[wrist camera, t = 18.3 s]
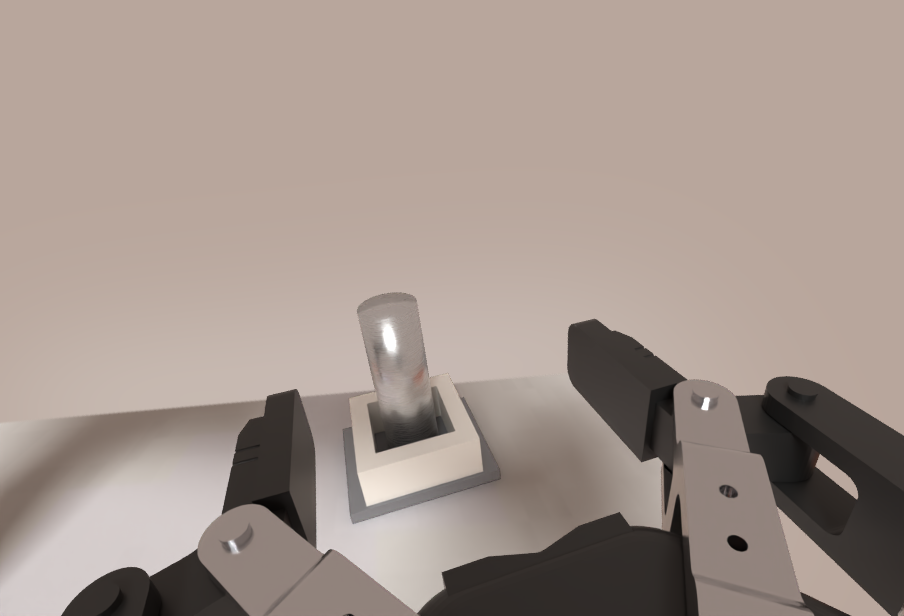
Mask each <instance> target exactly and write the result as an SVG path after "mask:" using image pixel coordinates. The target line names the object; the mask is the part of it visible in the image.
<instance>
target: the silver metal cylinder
mask: <svg viewBox="0 0 904 616" xmlns="http://www.w3.org/2000/svg"><path fill="white" fill-rule="evenodd" d="M357 314H358V318H359V322H360V327H361V331H362V335H363V340H364V344H365V348H366V353H367V357H368V361H369V366H370V370H371V374H372V379H373V383H374V387H375V392H376V396H377V400H378V404H379V409H380V413H381V417H382V422H383V426H384V430H385V435H386V439H387V443H388V448H389V450H390V449H393V448H397V447H400V446H404V445H407V444H411V443H415V442H418V441H422V440H425V439H429V438H432V437H436V436H439V435H438V428H437V422H436V416H435V410H434V404H433V398H432V391H431V385H430V379H429V373H428V367H427V361H426V355H425V349H424V343H423V336H422V330H421V324H420V318H419V312H418V306H417V300H416V298H415V297H414V296H412V295H410V294H406V293H387V294H382V295H378V296H375V297H372V298H370V299H368V300H366V301H364V302H363V303H362V304H361V305H360V306H359V307H358V309H357Z"/></svg>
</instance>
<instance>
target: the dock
mask: <svg viewBox="0 0 904 616" xmlns="http://www.w3.org/2000/svg"><path fill="white" fill-rule="evenodd" d="M429 379H430V385H431V391H432V398H433V404H434V410H435V416H436V422H437V428H438V435H439V436H436V437H432V438H429V439H425V440H422V441H418V442H415V443H411V444H407V445H404V446H400V447H397V448H393V449H390V450H389V448H388V443H387V439H386V435H385V430H384V426H383V422H382V417H381V413H380V409H379V404H378V400H377V396H376V392H371V393H367V394H363V395H359V396H356V397H352V398H349V404H350V412H351V421H352V427H350V428H346V429H343V438H344V450H345V462H346V474H347V485H348V497H349V509H350V517H351V520H352V523H353V524H354V523H357V522H361V521H364V520H367V519H370V518H374V517H377V516H380V515H383V514H387V513H390V512H393V511H396V510H400V509H403V508H406V507H409V506H413V505H416V504H419V503H422V502H426V501H429V500H432V499H435V498H439V497H442V496H445V495H448V494H452V493H455V492H458V491H461V490H465V489H468V488H471V487H474V486H478V485H481V484H484V483H487V482H491V481H494V480H497V479H500V469H499V467H498V465H497V463H496V461H495V459H494V457H493V455H492V453H491V451H490V449H489V447H488V445H487V443H486V441H485V439H484V437H483V435H482V433H481V431H480V429H479V427H478V425H477V423H476V421H475V419H474V417H473V415H472V413H471V411H470V409H469V407H468V405H467V403H466V401H465V399H464V397H462V398H460V397H459V395H458V393H457V391H456V389H455V387H454V385H453V382H452V380H451V378H450V376H449V374H448V373H446V374H442V375H439V376H435V377H430V378H429Z"/></svg>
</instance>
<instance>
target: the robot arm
mask: <svg viewBox="0 0 904 616" xmlns="http://www.w3.org/2000/svg"><path fill="white" fill-rule="evenodd" d="M567 366H568V367H567V368H568V374H569V378H570V380H571V382H572V384H573V386H574V387H575V388H576V389H577V391H578V392H579V393H580V394H581V395H582V396H583V397H584V398H585V400H586V401H587V402H588V403H589V404H590V405H591V406H592V407H593V408H594V410H595V411H596V412H597V413H598V414H599V415H600V416H601V417H602V419H603V420H604V421H605V422H606V423H607V424H608V425H609V426H610V427H611V429H612V430H613V431H614V432H615V433H616V434H617V435H618V436H619V438H620V439H621V440H622V441H623V442H624V443H625V444H626V445H627V446H628V448H629V449H630V450H631V451H632V452H633V453H634V454H635V455H636V457H637V458H638V459H639V460H640V461H641V462H644V461H647V460H650V459H653V458H656V457H659V459H660V460H661V461H662V467H661V501H662V530H661V529H658V528H652V527H645V526H629V524H628V523H627V522H626V520H625V519H624V518H623V516H622V515H621V513H620V512H619V513H616V514H613V515H610V516H607V517H604V518H601V519H598V520H595V521H592V522H589V523H586V524H583V525H580V526H578V527H577V528H575V529H574V530H572V531H571V532H569V533H568V534H566V535H565V536H564V537H562V538H561V539H559V540H558V541H556V542H555V543H554V544H552V545H551V546H549V547H548V548H546V549H545V550H543V551H541V552H538V553H529V554H516V555H503V556H490V557H486V558H483V559H480V560H477V561H474V562H471V563H468V564H465V565H462V566H459V567H456V568H453V569H450V570H447V571H444V572H442V577H443V582H444V588H445V589H444V590H442V591H441V592H440V593H438V594H437V595H435V596H434V597H433V598H432V599H431V600H430V601H428V602H427V603H426V604H425V605H424V606H423V607H422V609H421V610H420V611H419V612H418V613H415V612H414V611H413V610H412V609H410V608H409V607H408V606H407V605H405V604H404V603H403V602H401V601H400V600H399V599H398V598H396V597H395V596H394V595H393V594H391V593H390V592H389V591H388V590H386V589H385V588H384V587H382V586H381V585H380V584H379V583H377V582H376V581H375V580H374V579H372V578H371V577H370V576H369V575H367V574H366V573H365V572H363V571H362V570H361V569H360V568H358V567H357V566H356V565H355V564H353V563H352V562H351V561H349V560H348V559H347V558H346V557H344V556H343V555H342V554H340V553H339V552H337V551H335V550H332V549H330V550H328V551H327V552H326V553H325V554H323V553H321V552H320V551H318V550H317V549H316V472H315V448H314V442H313V437H312V433H311V430H310V427H309V423H308V420H307V417H306V414H305V411H304V408H303V404H302V401H301V398H300V395H299V392H298V391H297V389H294V390H290V391H286V392H282V393H278V394H273V395H269V396H267V400H266V407H265V413H264V416H263V417H259V418H255V419H251V420H249V421H248V423H247V424H246V426H245V427H244V428H243V430H242V431H241V432H240V434H239V435H238V440H237V444H236V449H235V452H236V453H235V454H234V459H233V463H232V464H233V467H232V468H231V473H230V477H229V482H228V487H227V492H226V496H225V501H224V506H223V510H222V515H221V516H220V517H218V518H217V519H216V520H215V521H213V522H212V523H211V525H210V526H209V527H208V528H207V529H206V530H205V532H204V533H203V535H202V537H201V539H200V541H199V544H198V549H196V550H195V551H194V552H192V553H191V554H189V555H188V556H186V557H184V558H183V559H181V560H179V561H177V562H176V563H174V564H172V565H170V566H168V567H167V568H165V569H163V570H161V571H159V572H158V573H156V574H154V575H152V576H150V577H149V576H148V574H147V573H146V572H145V571H144V570H142V569H140V568H137V567H127V568H122V569H118V570H115V571H113V572H110V573H108V574H106V575H104V576H102V577H100V578H99V579H97V580H96V581H94V582H93V583H91V584H90V585H89V586H87V587H86V588H85V589H84V590H82V591H81V592H80V593H79V594H78V595H77V596H76V597H75V598H74V599H73V600H72V601H71V603H70V604H69V605H68V606H67V608H66V609H65V611H64V612H63V614H62V615H61V616H850V615H848V614H846V613H844V612H842V611H840V610H838V609H836V608H833V607H831V606H829V605H827V604H825V603H823V602H821V601H818V600H816V599H814V598H812V597H810V596H808V595H806V594H804V593H801V592H800V590H799V586H798V583H797V579H796V576H795V572H794V568H793V564H792V561H791V558H790V554H789V550H788V546H787V543H786V539H785V535H784V532H783V528H782V525H781V521H780V517H779V514H778V510H777V507H779V509H781V510H782V511H783V512H784V513H785V514H786V515H787V516H788V517H789V518H790V519H791V520H792V521H793V522H794V523H795V524H796V525H797V526H798V527H799V528H800V529H801V530H802V531H803V532H805V533H806V534H807V535H808V536H809V537H810V538H811V539H812V540H813V541H814V542H815V543H816V544H817V545H818V546H819V547H820V548H821V549H822V550H823V551H824V552H825V553H826V554H827V555H828V556H830V557H831V558H832V559H833V560H834V561H835V562H836V563H837V564H838V565H839V566H840V567H841V568H842V569H843V570H844V571H845V572H846V573H847V574H848V575H849V576H850V577H851V578H852V579H853V580H855V582H857V583H858V584H859V585H860V586H861V587H862V588H863V589H864V590H865V591H866V592H867V593H868V594H869V595H870V596H871V597H872V598H873V599H874V600H875V601H876V602H877V603H879V604H880V606H882V607H883V608H884V609H885V610H886V611H887V612H888V613H889V614H890V615H891V616H904V436H903V435H902V434H900V433H898V432H897V431H895V430H894V429H892V428H890V427H889V426H887V425H885V424H884V423H882V422H881V421H879V420H877V419H876V418H874V417H872V416H871V415H869V414H868V413H866V412H864V411H863V410H861V409H860V408H858V407H856V406H855V405H853V404H851V403H850V402H848V401H847V400H845V399H843V398H842V397H840V396H838V395H837V394H835V393H834V392H832V391H830V390H829V389H827V388H826V387H824V386H822V385H820V384H818V383H815V382H813V381H810V380H807V379H803V378H798V377H787V376H786V377H777V378H774V379H772V380H770V381H769V382H768V383H767V386H766V390H765V393H764V395H750V396H735V395H734V394H733V393H732V392H731V391H729V390H728V389H727V388H725V387H723V386H721V385H719V384H716V383H713V382H710V381H705V380H687V379H686V378H684V377H683V376H682V375H680V374H679V373H678V372H677V371H675V370H674V369H672V368H671V367H670V366H669V365H667V364H666V363H664V362H663V361H662V360H661V359H659V358H658V357H657V356H654V355H653V353H652V352H650V351H649V350H647V349H646V348H645V349H644V346H642V345H641V344H640V343H639V342H637V341H636V340H635V339H633V338H632V337H630V336H627V335H625V334H622V333H620V332H617V331H611V330H609V329H608V328H607V327H606V326H604V325H603V324H602V323H601V322H599V321H598V320H596V319H592V320H588V321H584V322H579V323H575V324H571V326H570V327H569V331H568V363H567ZM820 454H821V455H822V456H823V457H825V458H826V459H827V460H829V461H830V462H831V463H833V464H834V465H835V466H837V467H838V468H839V469H840V470H842V471H843V472H844V473H846V474H847V475H848V476H849V477H850V478H851V479H852V481H853V482H854V484H855V485H856V487H857V490H858V499H857V500H856V499H855V498H854V497H853V496H851V495H850V494H849V493H847V492H846V491H845V490H844V489H843V488H841V487H840V486H839V485H837V484H836V483H835V482H834V481H832V480H831V479H830V478H829V477H828V476H826V475H825V474H824V473H823V472H821V471H820V470H819V469H818V468H816V467H815V465H816V463H817V460H818V457H819V455H820Z"/></svg>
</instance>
